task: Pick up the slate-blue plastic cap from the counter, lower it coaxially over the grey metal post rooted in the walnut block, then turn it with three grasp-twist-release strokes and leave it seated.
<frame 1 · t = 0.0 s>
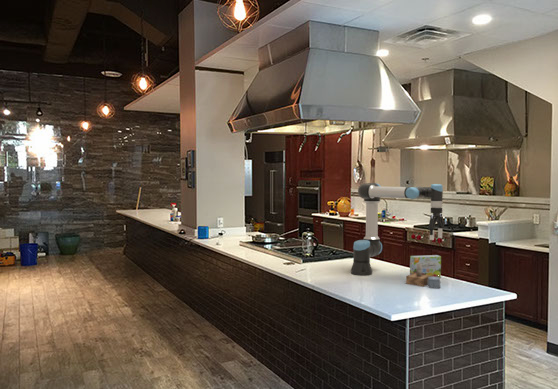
hand: (436, 238, 325), 28 cm above the table, fingers open, 13 cm apart
cap: (433, 287, 307), on the table
snack box: (425, 277, 336), on the table
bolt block: (418, 283, 317), on the table
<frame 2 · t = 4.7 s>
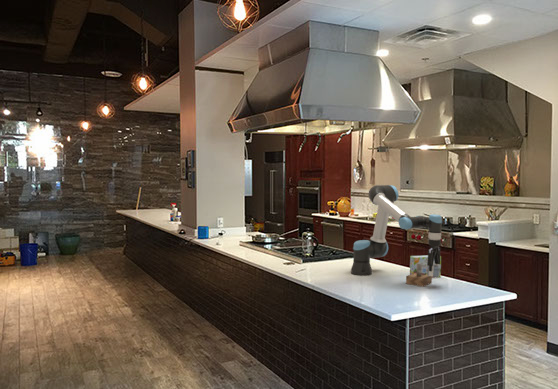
hand: (433, 275, 307), 8 cm above the table, fingers closed on cap, 7 cm apart
cap: (433, 275, 307), point 7 cm above the table, touching gripper
everything else where it was.
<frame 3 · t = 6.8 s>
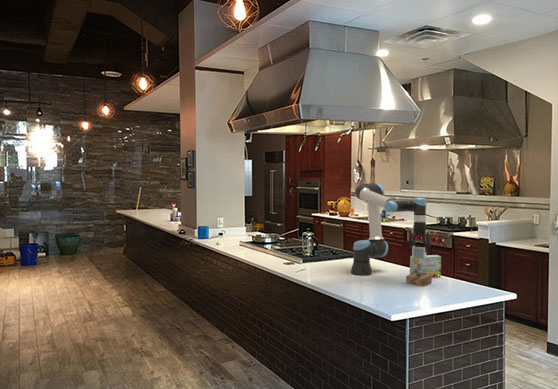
hand: (419, 256, 316), 18 cm above the table, fingers closed on cap, 7 cm apart
cap: (419, 257, 316), point 17 cm above the table, touching gripper
everything else where it was.
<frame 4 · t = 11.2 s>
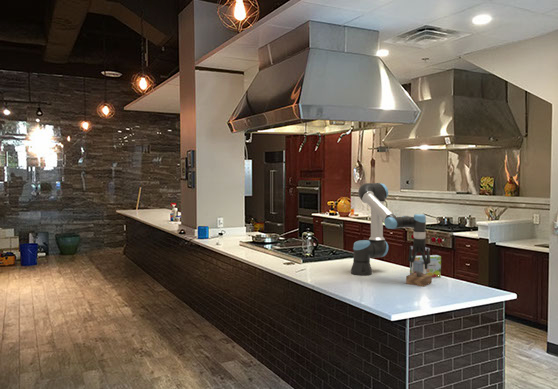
hand: (418, 273, 316), 7 cm above the table, fingers closed on cap, 7 cm apart
cap: (418, 270, 316), point 9 cm above the table, touching gripper
everything else where it was.
when the fingers open (8 cm above the table, at t = 12.1 s): cap drops 1 cm, resting on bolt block.
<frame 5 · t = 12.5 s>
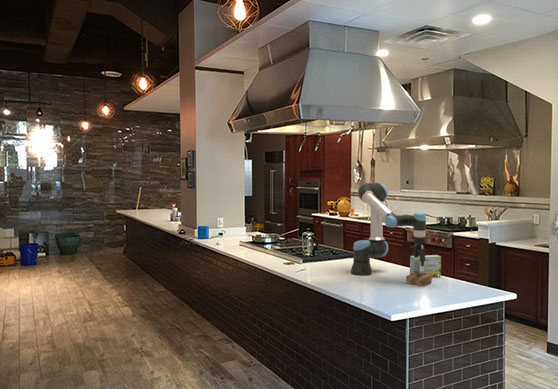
hand: (419, 269, 316), 9 cm above the table, fingers open, 13 cm apart
cap: (418, 270, 316), point 9 cm above the table, touching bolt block
everything else where it was.
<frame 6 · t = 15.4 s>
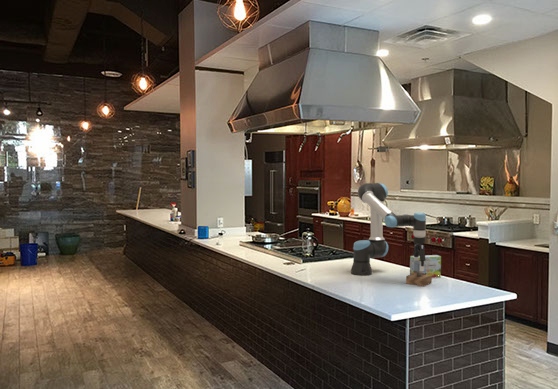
hand: (419, 269, 316), 9 cm above the table, fingers open, 13 cm apart
nothing on the table moved.
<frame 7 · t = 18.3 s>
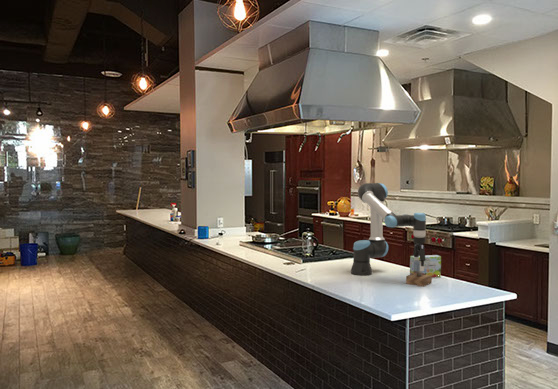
hand: (419, 269, 316), 9 cm above the table, fingers open, 13 cm apart
nothing on the table moved.
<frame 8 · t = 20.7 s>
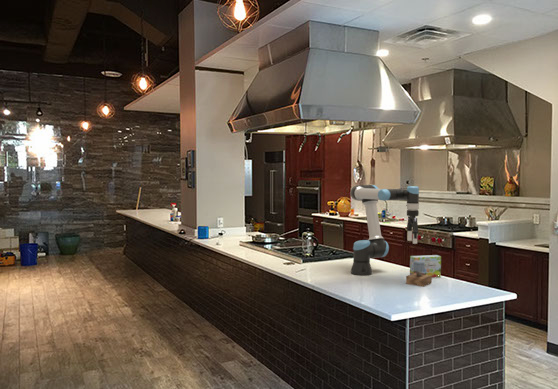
hand: (412, 242, 319), 27 cm above the table, fingers open, 13 cm apart
nothing on the table moved.
at the end: cap 0.1 cm off-centre on the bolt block, point 8.6 cm above the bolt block's base; cap tilted 1°; the gripper is holding nothing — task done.
